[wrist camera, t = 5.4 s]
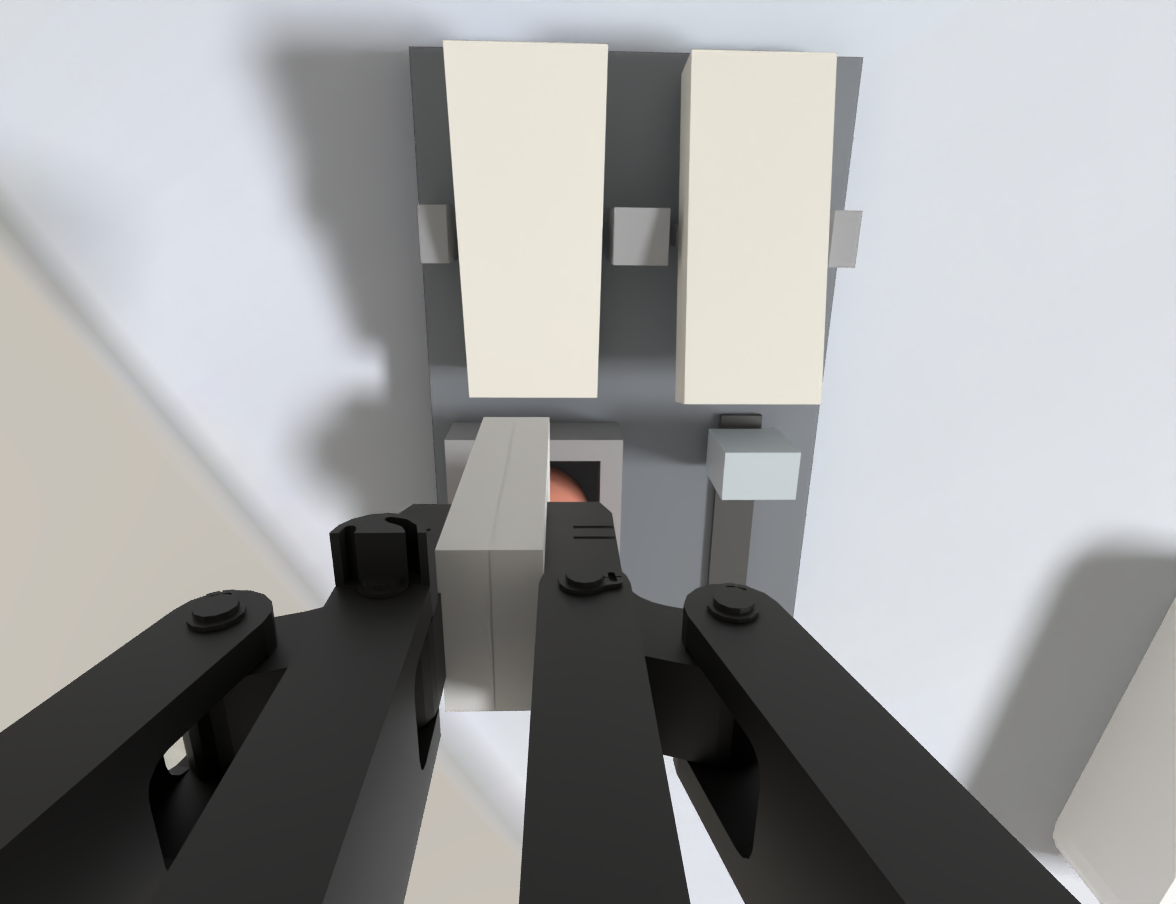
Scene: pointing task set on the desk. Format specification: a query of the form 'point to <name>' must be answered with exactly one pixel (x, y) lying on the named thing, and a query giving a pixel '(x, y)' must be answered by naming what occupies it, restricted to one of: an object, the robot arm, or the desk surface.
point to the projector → (1130, 790)
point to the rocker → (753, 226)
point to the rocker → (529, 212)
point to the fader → (752, 464)
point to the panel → (631, 348)
